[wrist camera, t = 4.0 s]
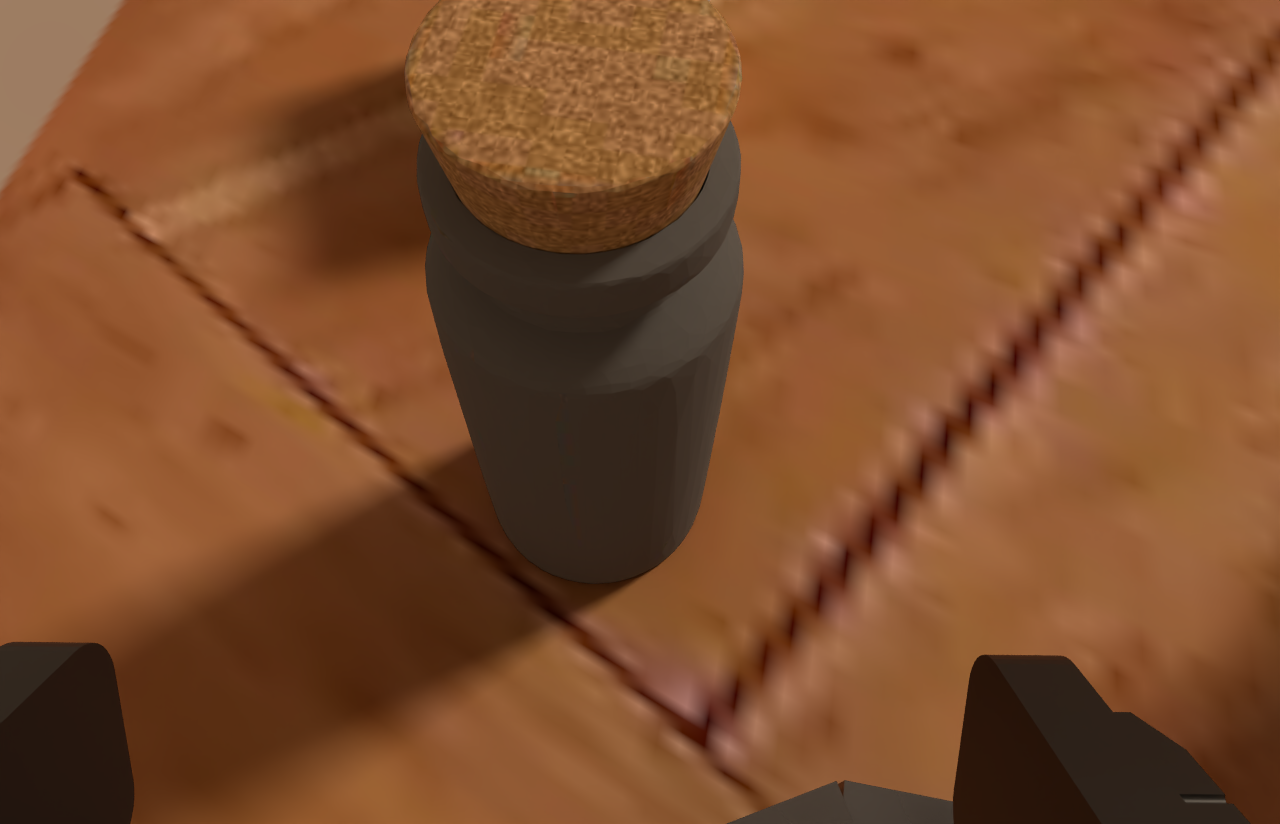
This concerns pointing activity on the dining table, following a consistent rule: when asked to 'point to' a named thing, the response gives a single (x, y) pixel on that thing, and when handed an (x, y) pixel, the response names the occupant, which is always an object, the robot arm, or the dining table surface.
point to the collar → (854, 807)
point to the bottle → (583, 260)
